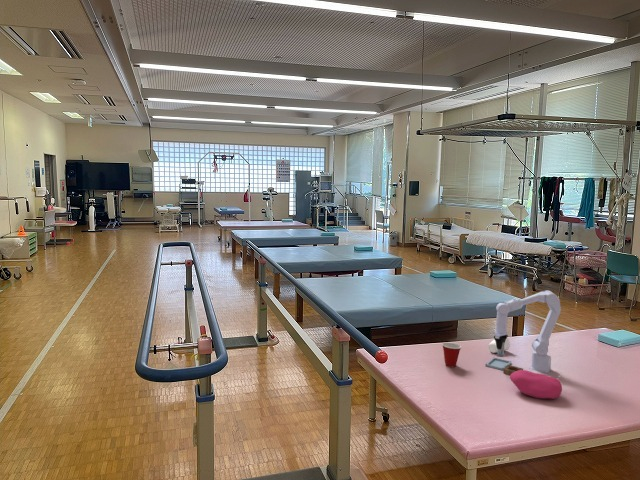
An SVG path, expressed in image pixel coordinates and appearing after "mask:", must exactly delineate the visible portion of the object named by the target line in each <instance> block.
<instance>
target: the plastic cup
mask: <svg viewBox="0 0 640 480" xmlns="http://www.w3.org/2000/svg"><path fill="white" fill-rule="evenodd" d="M441 345H442V351H443V358H444V363H445V366H446V367H449V368H454V367H456V366H457V363H458V360H459V359H458V358H459V355H460V351H461V349H462V345H461V344H458V343H455V342H443V343H441Z"/></svg>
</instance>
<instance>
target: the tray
mask: <svg viewBox="0 0 640 480" xmlns="http://www.w3.org/2000/svg"><path fill="white" fill-rule="evenodd" d="M507 365H512V360H511V361H510V360H506V359H502V358H500V357H499V358H497V357H492V358H491V359H490V360H488V362H486V363H485V367H488V368H492V369H496V370H498V371H499V370H500V371H503V370H504V368H505V367H506V366H507Z"/></svg>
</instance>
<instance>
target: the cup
mask: <svg viewBox="0 0 640 480" xmlns="http://www.w3.org/2000/svg"><path fill="white" fill-rule="evenodd" d="M510 347H511V342H510V340H509V339H508V337H507V338H506V341H505V344H504V351H508V350H509V349H510ZM487 348H488V350H489V352H490V353H493V354H496V353H498V349H497V346H496V341H495V339H494V338H493V340H492V341H491V342H490V343H488V346H487Z"/></svg>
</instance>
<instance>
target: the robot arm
mask: <svg viewBox="0 0 640 480" xmlns="http://www.w3.org/2000/svg"><path fill="white" fill-rule="evenodd" d="M536 302H540V303H543V304H545V303H546V304H547V307H548V308H549V311H548V313H547V315H546V318H545V320H544V323H543V324H542V327H541V330H540V333H539V335H537V336H536V337H535V339H534V340H533V341H532V342H531V347H532V349H533V350H532V353H531V365H530V367H528V369H529V370H532V371H537V372H541V373H546V374H548V373H549V372H550V371H551V367H552V356H551V355H549V354H548V353H549V346H550V337H551V335H552V334H553V332H554V331H553V330H554V329H555V326H556V323H557V322H558V319H559V316H560V315H561V312H562V306H561V299H560V298H559V296H557V294H555V293H553V292H552V291H551V290H547V289H546V290H543V291H539V292H537V293H535V294H532V295H529V296H527V297H524V298H522V299H521V298H515V297H514V298H512V299H511V300H507V301H506V300H504V302H499V303H498V304H496V306H495V309H496V319H495V321H496V322H495V330H493V333H495V335H494V336H493V340H494V339H495V341H496V346H497V349H500V350H501V348H502V344H503V342H504V344H505V341H506V338H507V339H508V337H509V335H508V331H507V330H508V315H509V313H510V312H515V311H517V310H520V309H522V308H523V306H526V305H529V304H533V303H536Z"/></svg>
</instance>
